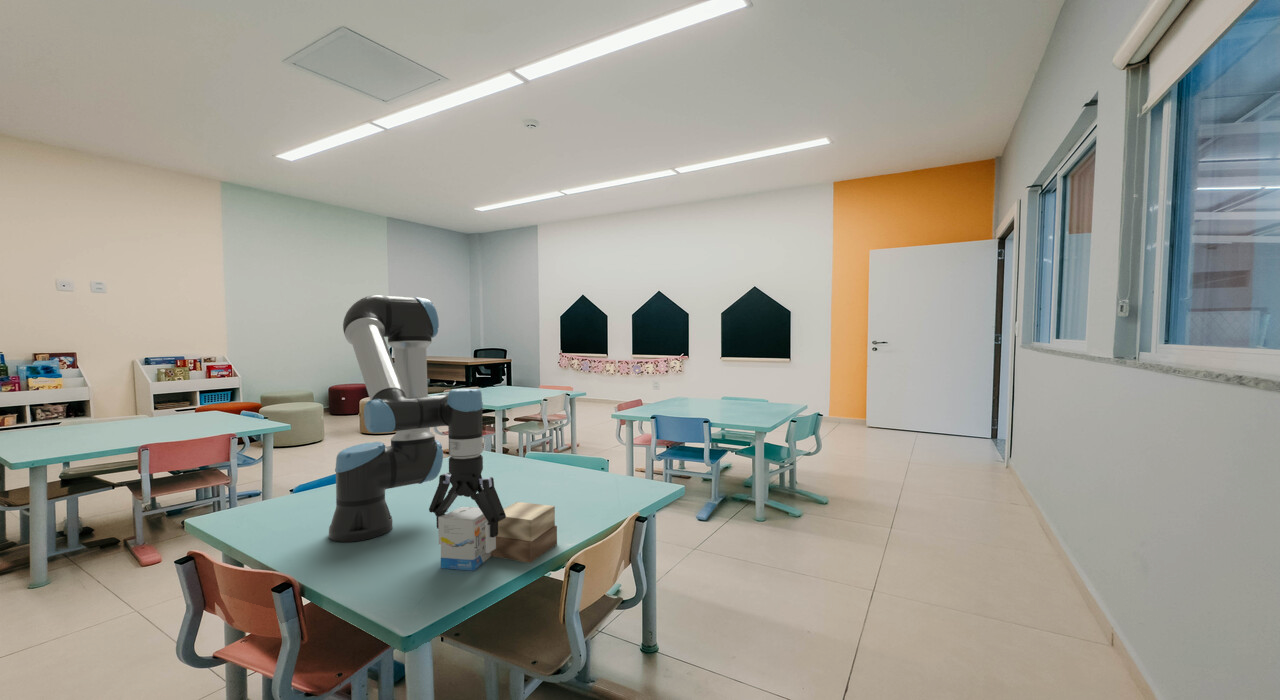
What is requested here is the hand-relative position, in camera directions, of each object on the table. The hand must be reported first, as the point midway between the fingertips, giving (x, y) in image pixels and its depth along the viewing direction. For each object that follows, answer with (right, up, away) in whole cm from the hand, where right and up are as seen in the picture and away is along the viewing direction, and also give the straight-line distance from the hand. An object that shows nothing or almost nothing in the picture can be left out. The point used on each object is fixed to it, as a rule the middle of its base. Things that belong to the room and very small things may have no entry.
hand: (466, 546), depth 118 cm
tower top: (+12, +1, +7) cm, 14 cm away
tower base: (+11, -4, +7) cm, 14 cm away
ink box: (0, -4, 0) cm, 4 cm away
